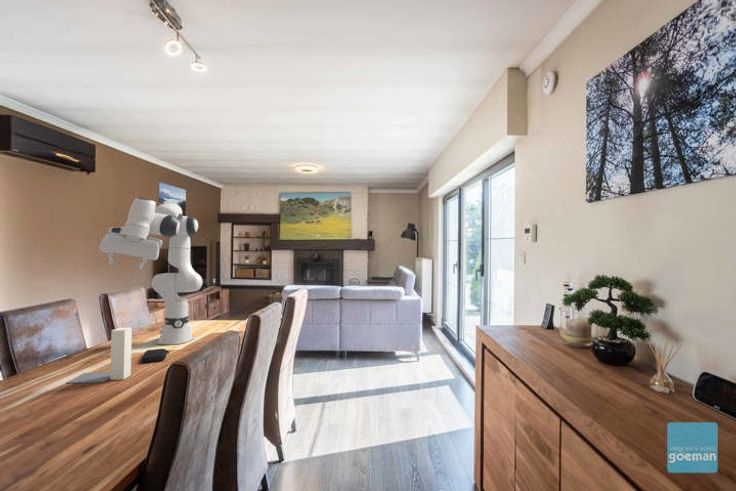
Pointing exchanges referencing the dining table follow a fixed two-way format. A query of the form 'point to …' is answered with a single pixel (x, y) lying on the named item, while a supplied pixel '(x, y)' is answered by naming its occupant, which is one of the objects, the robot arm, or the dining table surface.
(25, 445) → the dining table surface
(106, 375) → the slate mat
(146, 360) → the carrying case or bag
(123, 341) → the cream block
